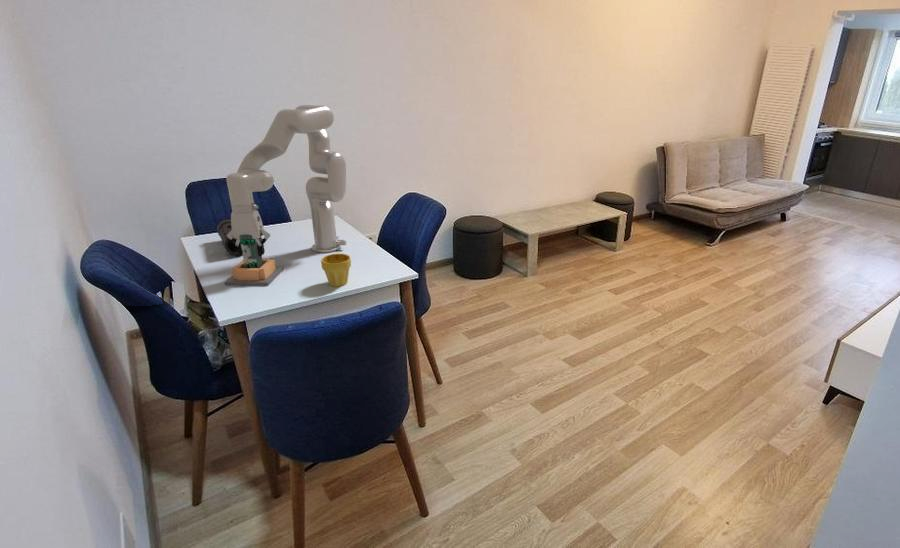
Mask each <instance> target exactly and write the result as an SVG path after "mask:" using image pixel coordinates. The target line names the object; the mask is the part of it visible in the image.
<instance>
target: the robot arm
mask: <svg viewBox="0 0 900 548" xmlns="http://www.w3.org/2000/svg"><path fill="white" fill-rule="evenodd" d="M334 118H335V117H334V113H333V111H332V109H331V108H329V106H326V105H316V104H315V105H313V104H310V105H309V104H303V105H302V104H301V105H299V106H297V107H295V109H292V108H291V109H289V108H288V109H281V110H279V111H278V112H277V114H276V115H275V116H274V118H273V121H272V122H271V124H270V125H269V126H270V127H269V128H268V130H267V132H266V134H265V137H264V138H263V140H261V142H260V143H258V144H257V145H256V146H255V147H254V148H253V149H251V150H250V151H249V152H248V153H247V154H246V155H245V156H244V157H243V159H242V161H241V163H240V165H239V167H238V169H237V172H233V173H229V174H227V176H226V177H225V178H226V179H225V180H226V185H227V190H228V195H229V200H230V205H231V211H232V212H231V213H230V220H231V226H232V230H231V231H230V232H229V233H228V235H227V237H228V238H229V239H230V240H231V241H232V242H234V243H235V245H236V246H237V247H238V252H239V253H240V256H239V257H243V254H242V248H241V243H240V235H242V236H243V235H244V236H247V235H252V238H253V239H255V240H256V242H257V243H258V247H257V248H258V253H259V256H262V257H263V256H264V254H265V251H266V250H265V245H264V244H265V243H266V242H267V240H269V238H270V237H271V234H270V233H269V232H268V231H267V230H265V228H264V224H263V221H262V218H261V215H260V213H259V211H258V209H259V205H258V204H256V203H255V201H254V196H253V193H256V192H258V193H259V192H266V191H268V190H271V188H272V187H273V186H274V182H275V180H274V179H275V178H274V176H273V174H271V173H270V172H269V171H267V170H264V169H261V168H262V167H263V166H264V165H265V164H266V163H268V162H270V161H271V160H274V159H277V158H279V157H281V156H283V155H285V153H286V152H287V150H288V148H289V145H290V144H291V142H292V139H293V138H294V136H295V135H296V134H300V135H301V134H302V135H303V134H304V135H305V134H306V135H307V140H308V165H309V169H310V171H312V172H313V173H315V174H318V175H319V174H321V175H326V176H327V177H323V176H312V177H310V178H309V179H308V180H307V182H306V184H305V193H306V196H307V199H308V202H309V208H310V215H311V216H310V217H311V221H312V230H313V231H312V232H313V239H314V243H313V245H312V246H311V250H312V251H313V252H315V253H322V254H323V253H332V252H335V251H338V250H340V249H342V246H347V241H346V240H345V239H339V236H337V231H336V220H335V211H334V206H333V203H339V202H341V201H342V200H343V199H344V198H345V197H346V196H345V195H346V189H347V188H346V187H347V165H346V160H345V158H344V156H343V155H342V154H341V153H340V152H338V151H332V150H331V139H330V136H329V132H328V130H327V129H329V128H331V126H332V125H333V123H334V121H335V119H334ZM263 236H264V237H263ZM262 237H263V238H262Z"/></svg>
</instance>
